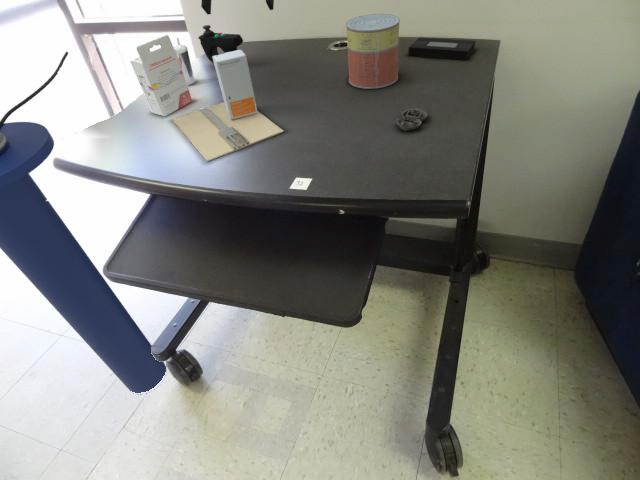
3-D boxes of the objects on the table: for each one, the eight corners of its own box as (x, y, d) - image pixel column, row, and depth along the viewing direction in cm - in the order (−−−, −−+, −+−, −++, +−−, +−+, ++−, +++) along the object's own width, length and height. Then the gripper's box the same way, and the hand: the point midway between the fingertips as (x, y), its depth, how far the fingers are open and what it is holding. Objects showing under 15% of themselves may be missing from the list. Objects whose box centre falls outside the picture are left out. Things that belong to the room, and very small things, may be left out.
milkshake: (199, 77, 105) (186, 36, 98) (195, 85, 101) (182, 43, 94) (182, 79, 105) (168, 39, 98) (178, 87, 101) (163, 45, 94)
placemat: (172, 120, 87) (172, 119, 87) (239, 97, 92) (239, 96, 92) (207, 161, 73) (206, 160, 72) (283, 132, 78) (283, 130, 78)
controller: (213, 62, 112) (202, 23, 106) (250, 64, 108) (241, 24, 101) (204, 68, 110) (192, 28, 103) (242, 70, 105) (232, 29, 98)
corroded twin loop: (391, 130, 74) (391, 125, 73) (405, 111, 79) (405, 106, 78) (417, 134, 72) (417, 129, 71) (430, 114, 77) (431, 109, 76)
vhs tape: (418, 45, 105) (419, 37, 104) (474, 49, 99) (475, 40, 98) (408, 55, 100) (408, 47, 99) (466, 60, 94) (467, 51, 93)
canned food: (376, 65, 98) (375, 11, 90) (408, 77, 91) (411, 19, 83) (339, 79, 94) (335, 23, 86) (370, 93, 87) (369, 33, 78)
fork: (197, 112, 88) (196, 110, 88) (210, 108, 89) (209, 106, 89) (234, 149, 74) (233, 147, 74) (249, 143, 75) (248, 141, 75)
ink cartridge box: (180, 98, 96) (156, 31, 86) (193, 101, 93) (170, 34, 83) (150, 113, 91) (122, 44, 81) (163, 117, 89) (136, 47, 79)
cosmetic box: (231, 121, 83) (215, 62, 75) (227, 113, 86) (211, 55, 78) (259, 113, 84) (246, 54, 76) (253, 106, 87) (240, 48, 79)
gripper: (305, -86, 83) (301, 14, 82) (194, -73, 87) (189, 22, 87) (297, -119, 75) (292, -9, 75) (176, -104, 80) (170, 1, 79)
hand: (237, 8), depth 81 cm, fingers open, 13 cm apart
